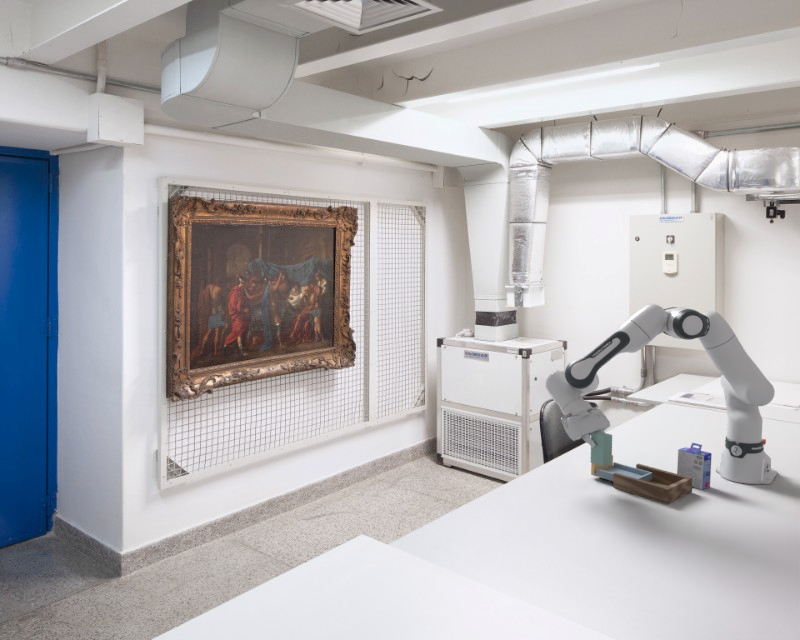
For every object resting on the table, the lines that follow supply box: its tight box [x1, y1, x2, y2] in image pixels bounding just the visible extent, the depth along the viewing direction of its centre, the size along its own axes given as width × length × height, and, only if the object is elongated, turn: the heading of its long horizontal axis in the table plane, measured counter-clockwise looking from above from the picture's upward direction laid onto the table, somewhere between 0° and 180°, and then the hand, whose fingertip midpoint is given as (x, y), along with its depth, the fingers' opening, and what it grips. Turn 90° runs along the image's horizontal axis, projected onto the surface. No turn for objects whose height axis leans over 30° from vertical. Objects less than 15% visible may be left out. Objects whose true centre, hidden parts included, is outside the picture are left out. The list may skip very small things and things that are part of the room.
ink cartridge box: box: [676, 442, 712, 490], centre depth 227 cm, size 10×6×14 cm, turn 37°
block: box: [590, 432, 613, 466], centre depth 223 cm, size 5×5×10 cm
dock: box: [612, 463, 693, 505], centre depth 223 cm, size 16×20×5 cm
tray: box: [590, 454, 653, 482], centre depth 232 cm, size 12×17×5 cm
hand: (600, 444), depth 224 cm, fingers closed on block, 5 cm apart
